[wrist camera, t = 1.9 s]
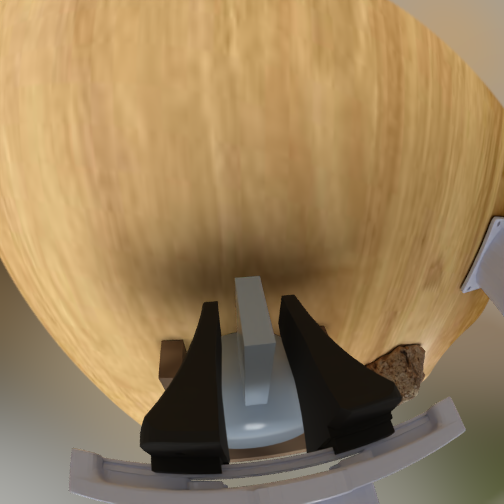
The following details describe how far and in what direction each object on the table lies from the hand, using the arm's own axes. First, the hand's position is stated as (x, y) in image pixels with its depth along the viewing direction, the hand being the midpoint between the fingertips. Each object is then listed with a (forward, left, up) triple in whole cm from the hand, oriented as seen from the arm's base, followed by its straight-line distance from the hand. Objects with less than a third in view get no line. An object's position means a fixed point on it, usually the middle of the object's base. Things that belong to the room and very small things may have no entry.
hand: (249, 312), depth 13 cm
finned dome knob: (0, +5, -2) cm, 6 cm away
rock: (-14, +18, -3) cm, 23 cm away
